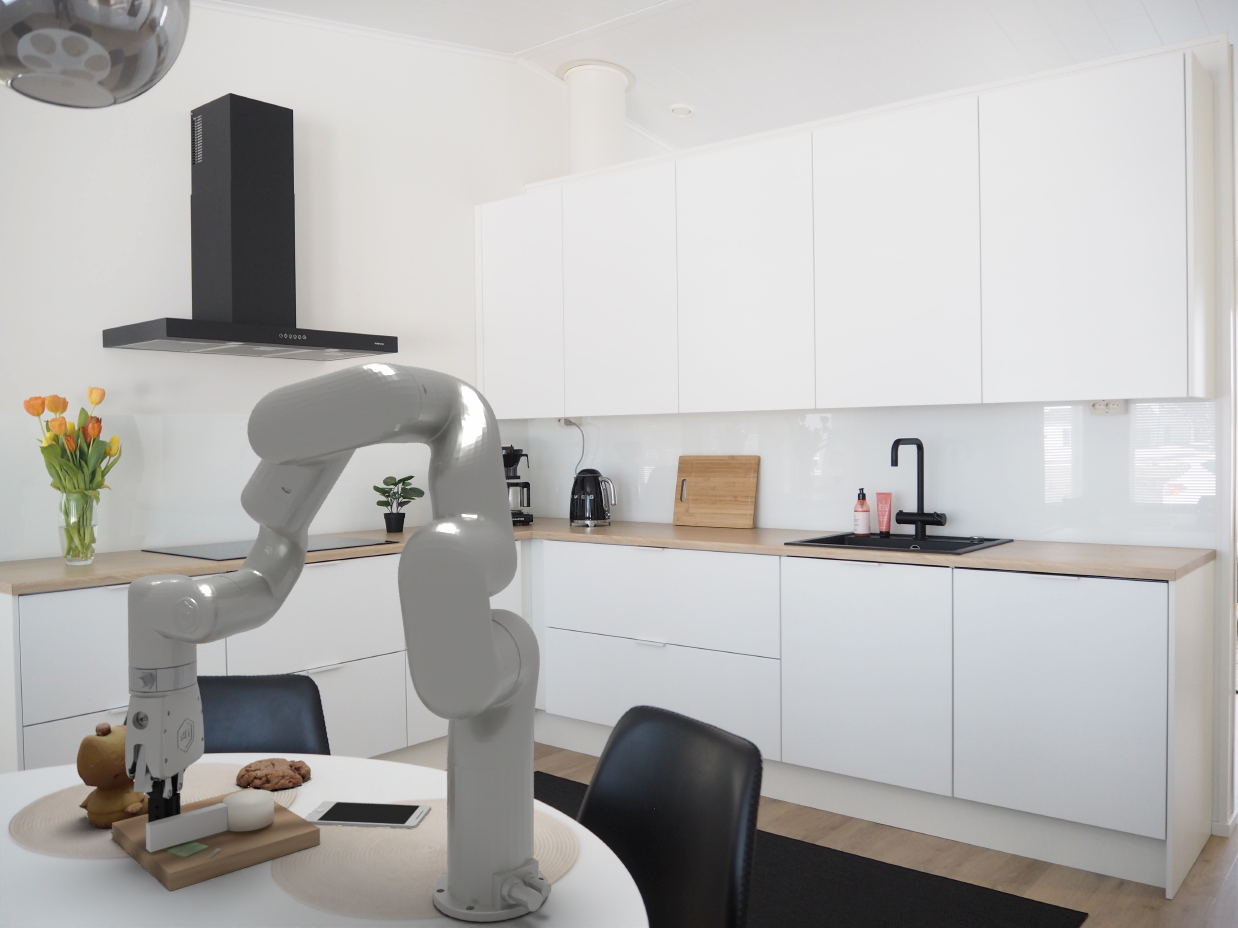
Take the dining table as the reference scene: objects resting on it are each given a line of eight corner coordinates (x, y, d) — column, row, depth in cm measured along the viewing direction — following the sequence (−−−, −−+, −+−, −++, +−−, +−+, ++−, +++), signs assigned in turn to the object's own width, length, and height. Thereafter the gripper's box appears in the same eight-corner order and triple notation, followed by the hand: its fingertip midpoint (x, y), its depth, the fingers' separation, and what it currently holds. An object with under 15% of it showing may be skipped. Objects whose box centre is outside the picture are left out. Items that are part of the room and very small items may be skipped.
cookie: (242, 773, 147) (242, 754, 147) (314, 768, 149) (314, 749, 149) (229, 797, 137) (229, 776, 137) (307, 791, 139) (307, 771, 139)
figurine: (172, 809, 131) (152, 711, 127) (132, 844, 124) (109, 741, 120) (112, 802, 134) (91, 706, 130) (70, 835, 127) (46, 735, 123)
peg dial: (261, 808, 125) (261, 785, 125) (282, 821, 121) (282, 797, 121) (139, 842, 114) (139, 817, 114) (157, 857, 110) (157, 832, 110)
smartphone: (323, 806, 134) (323, 799, 134) (431, 811, 132) (431, 804, 132) (301, 826, 127) (301, 819, 126) (415, 832, 125) (415, 824, 125)
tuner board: (319, 843, 120) (319, 826, 120) (170, 890, 107) (169, 871, 107) (251, 801, 134) (251, 785, 134) (112, 838, 122) (112, 821, 122)
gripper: (157, 693, 109) (159, 854, 109) (223, 663, 124) (224, 804, 124) (95, 692, 109) (96, 851, 110) (167, 662, 124) (169, 802, 125)
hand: (164, 826), depth 117 cm, fingers closed
